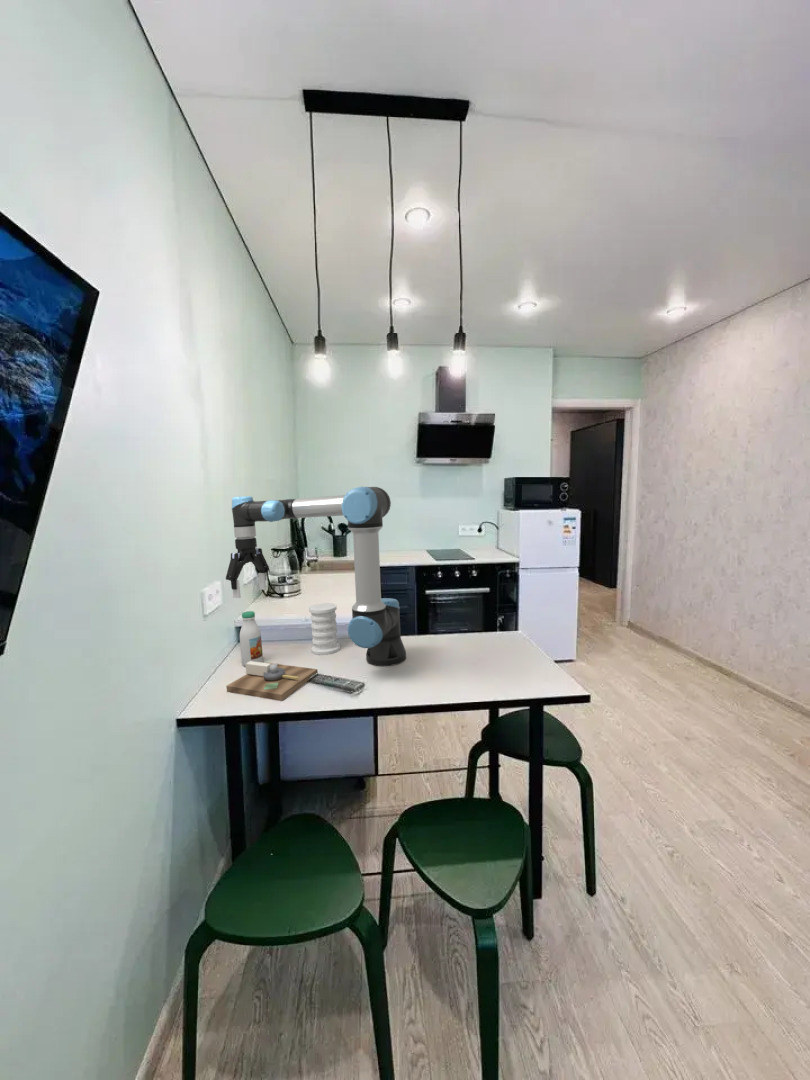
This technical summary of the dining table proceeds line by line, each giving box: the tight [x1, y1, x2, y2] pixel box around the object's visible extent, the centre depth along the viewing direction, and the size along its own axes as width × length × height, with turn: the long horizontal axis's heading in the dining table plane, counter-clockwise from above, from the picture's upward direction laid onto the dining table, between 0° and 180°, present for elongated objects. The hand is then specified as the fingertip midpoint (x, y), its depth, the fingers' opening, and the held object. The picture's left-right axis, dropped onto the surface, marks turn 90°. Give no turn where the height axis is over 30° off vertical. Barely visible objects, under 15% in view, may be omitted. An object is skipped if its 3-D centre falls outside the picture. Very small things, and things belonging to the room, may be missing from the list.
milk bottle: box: [239, 610, 264, 668], centre depth 165 cm, size 8×8×20 cm
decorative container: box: [308, 602, 341, 656], centre depth 177 cm, size 12×12×18 cm
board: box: [226, 662, 319, 701], centre depth 148 cm, size 22×20×2 cm
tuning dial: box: [245, 661, 299, 680], centre depth 148 cm, size 20×7×4 cm, turn 68°
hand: (250, 593), depth 165 cm, fingers open, 13 cm apart
